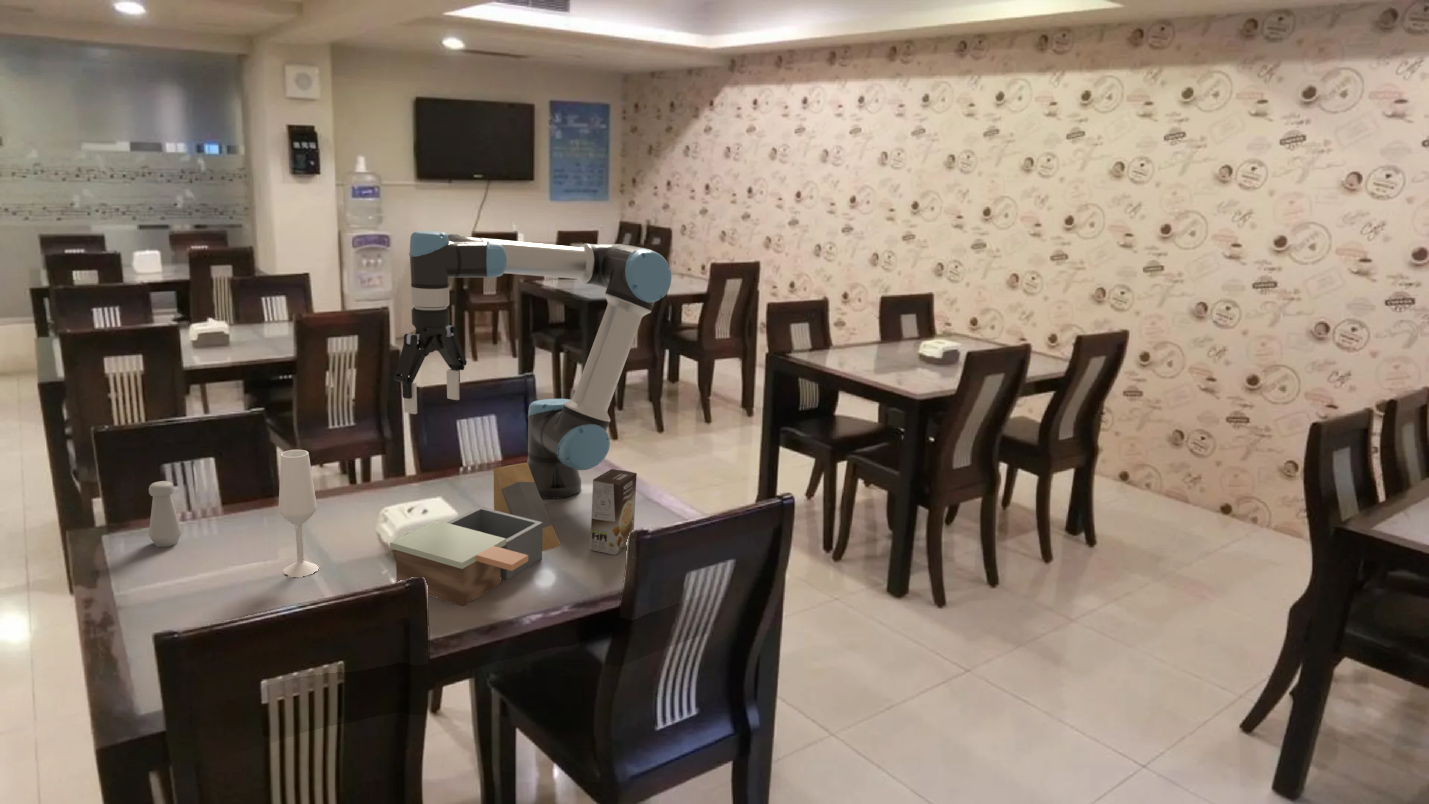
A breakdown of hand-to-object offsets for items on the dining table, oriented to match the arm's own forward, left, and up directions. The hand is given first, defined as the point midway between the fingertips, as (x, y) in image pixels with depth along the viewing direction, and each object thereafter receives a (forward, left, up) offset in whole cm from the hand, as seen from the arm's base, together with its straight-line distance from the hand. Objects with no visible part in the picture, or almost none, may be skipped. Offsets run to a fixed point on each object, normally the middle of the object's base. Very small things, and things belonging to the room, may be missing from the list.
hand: (432, 405), depth 195 cm
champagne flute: (+29, -8, -29) cm, 42 cm away
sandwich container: (-7, +20, -29) cm, 36 cm away
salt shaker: (+34, -40, -29) cm, 60 cm away
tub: (+6, +20, -28) cm, 35 cm away
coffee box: (-14, +37, -29) cm, 49 cm away
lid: (+19, +24, -20) cm, 37 cm away
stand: (+19, +20, -28) cm, 40 cm away
